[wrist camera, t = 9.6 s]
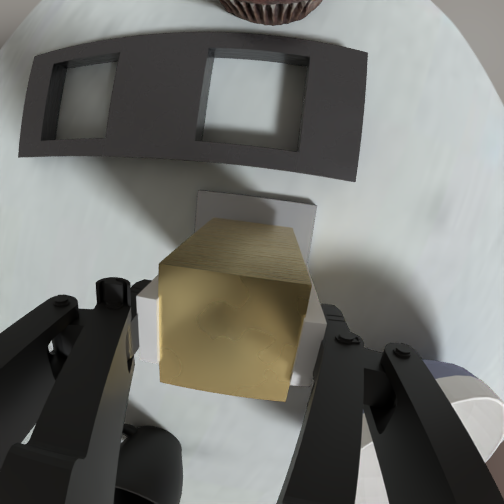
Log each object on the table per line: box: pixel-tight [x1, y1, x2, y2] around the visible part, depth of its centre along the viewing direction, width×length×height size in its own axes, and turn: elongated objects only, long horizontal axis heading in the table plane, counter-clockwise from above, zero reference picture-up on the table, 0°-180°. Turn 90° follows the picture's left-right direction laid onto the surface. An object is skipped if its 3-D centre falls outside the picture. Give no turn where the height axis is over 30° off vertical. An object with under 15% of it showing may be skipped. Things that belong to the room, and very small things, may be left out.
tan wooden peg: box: [158, 218, 312, 402], centre depth 15 cm, size 5×5×10 cm
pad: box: [194, 190, 317, 265], centre depth 22 cm, size 8×8×1 cm
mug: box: [113, 424, 183, 504], centre depth 23 cm, size 8×12×10 cm
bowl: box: [355, 359, 504, 504], centre depth 20 cm, size 16×16×10 cm
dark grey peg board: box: [18, 32, 368, 182], centre depth 18 cm, size 26×9×2 cm, turn 83°
